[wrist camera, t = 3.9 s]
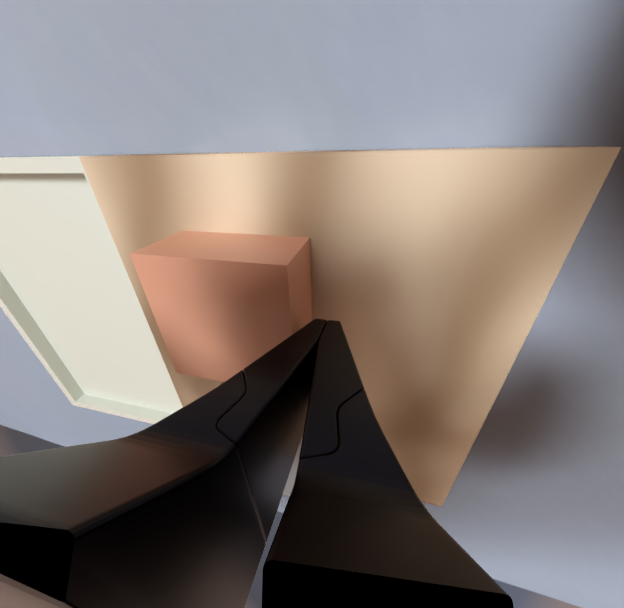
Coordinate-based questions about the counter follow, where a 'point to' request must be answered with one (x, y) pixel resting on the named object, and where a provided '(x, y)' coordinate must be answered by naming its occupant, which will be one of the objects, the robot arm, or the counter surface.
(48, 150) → the counter surface
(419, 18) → the counter surface
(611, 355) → the counter surface
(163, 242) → the terracotta block
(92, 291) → the tray
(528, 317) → the birch board
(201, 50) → the counter surface
